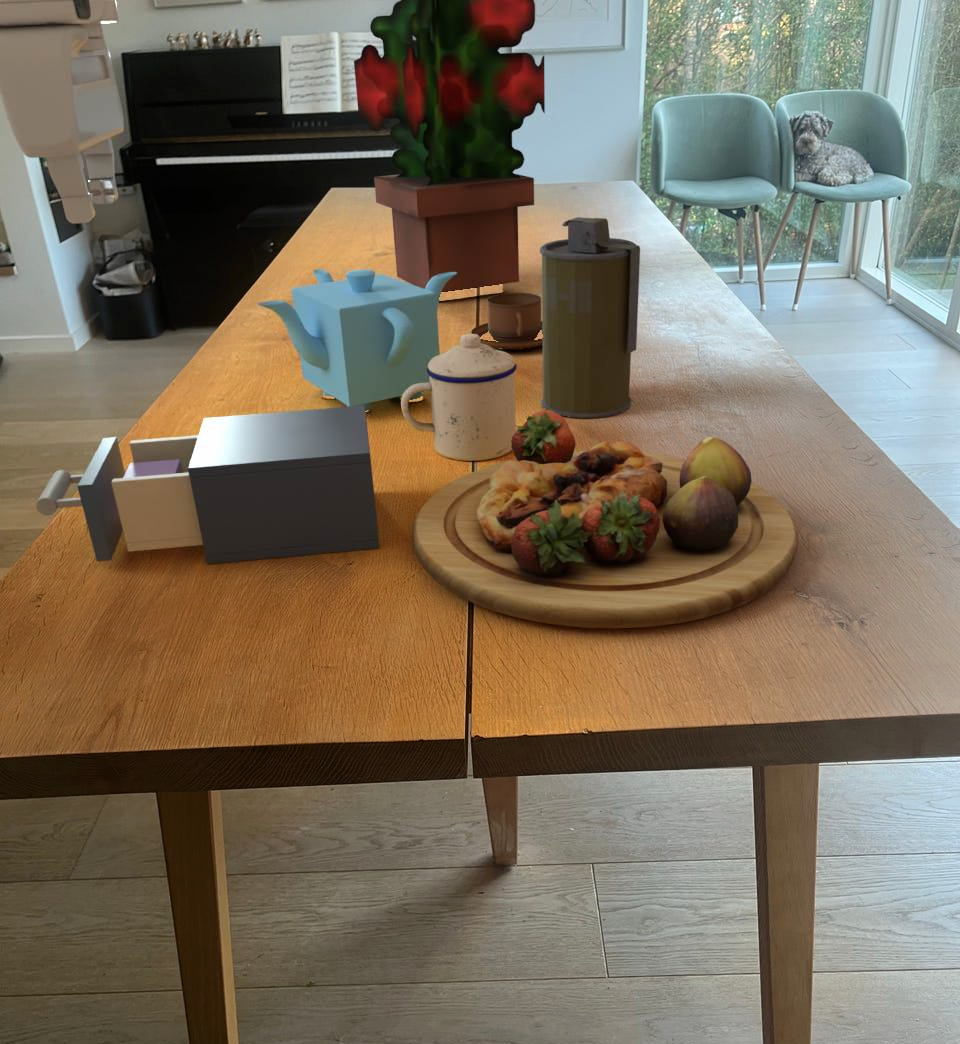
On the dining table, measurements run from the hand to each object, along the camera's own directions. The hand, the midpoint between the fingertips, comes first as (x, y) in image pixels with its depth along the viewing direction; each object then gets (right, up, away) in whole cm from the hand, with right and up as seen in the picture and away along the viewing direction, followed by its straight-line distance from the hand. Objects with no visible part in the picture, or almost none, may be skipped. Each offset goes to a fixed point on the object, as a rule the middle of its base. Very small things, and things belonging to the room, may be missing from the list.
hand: (95, 212), depth 77 cm
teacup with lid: (+27, -12, +30) cm, 43 cm away
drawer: (+1, -22, +13) cm, 26 cm away
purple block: (+1, -22, +13) cm, 25 cm away
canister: (+42, -5, +41) cm, 59 cm away
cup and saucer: (+34, +9, +65) cm, 74 cm away
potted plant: (+25, +26, +95) cm, 102 cm away
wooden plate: (+39, -24, +10) cm, 47 cm away
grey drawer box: (+12, -22, +15) cm, 29 cm away
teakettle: (+16, -3, +47) cm, 50 cm away
